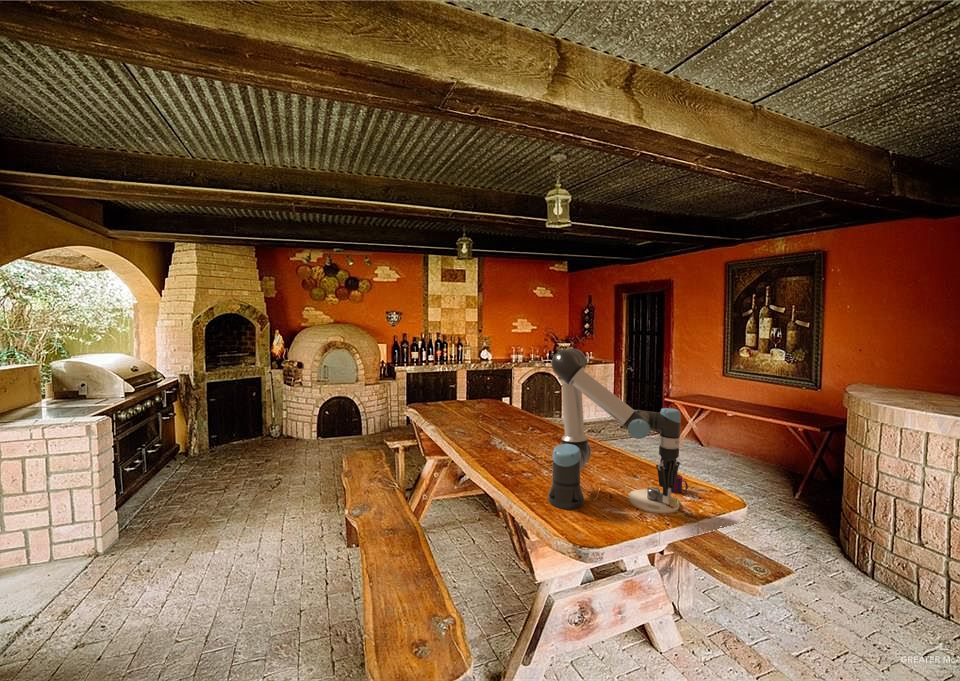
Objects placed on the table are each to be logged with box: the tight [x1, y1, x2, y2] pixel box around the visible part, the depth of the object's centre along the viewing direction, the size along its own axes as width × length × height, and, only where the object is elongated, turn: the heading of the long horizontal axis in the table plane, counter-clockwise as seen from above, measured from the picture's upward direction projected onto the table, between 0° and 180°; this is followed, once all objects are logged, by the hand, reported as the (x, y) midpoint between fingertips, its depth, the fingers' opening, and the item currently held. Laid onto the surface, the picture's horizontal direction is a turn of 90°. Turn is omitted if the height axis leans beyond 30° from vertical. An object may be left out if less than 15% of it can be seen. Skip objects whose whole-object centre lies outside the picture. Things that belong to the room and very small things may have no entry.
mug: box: [671, 473, 689, 494], centre depth 190 cm, size 7×10×7 cm
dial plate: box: [628, 488, 680, 514], centre depth 179 cm, size 20×20×2 cm
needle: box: [646, 486, 678, 507], centre depth 176 cm, size 12×5×4 cm, turn 35°
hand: (666, 502), depth 173 cm, fingers closed
